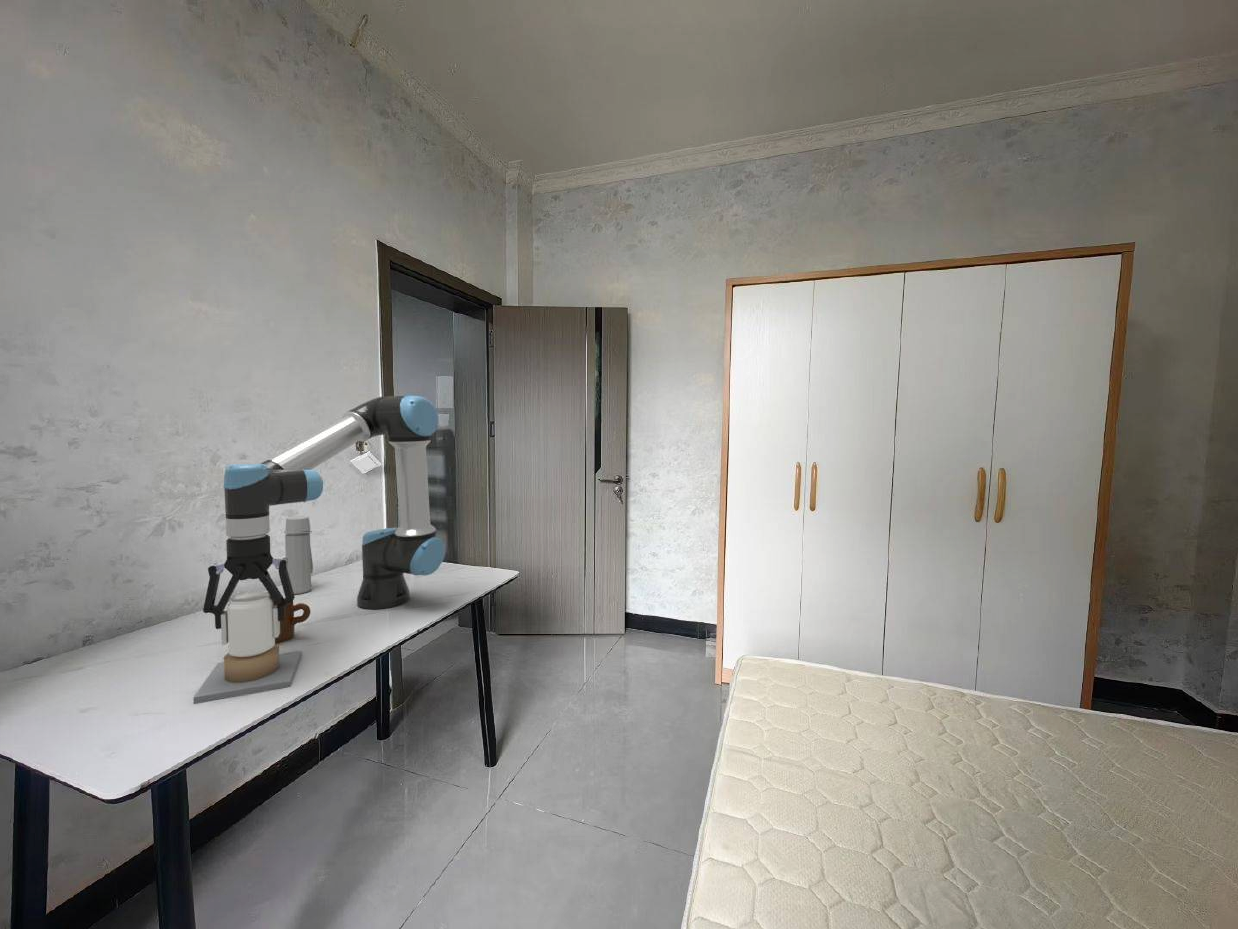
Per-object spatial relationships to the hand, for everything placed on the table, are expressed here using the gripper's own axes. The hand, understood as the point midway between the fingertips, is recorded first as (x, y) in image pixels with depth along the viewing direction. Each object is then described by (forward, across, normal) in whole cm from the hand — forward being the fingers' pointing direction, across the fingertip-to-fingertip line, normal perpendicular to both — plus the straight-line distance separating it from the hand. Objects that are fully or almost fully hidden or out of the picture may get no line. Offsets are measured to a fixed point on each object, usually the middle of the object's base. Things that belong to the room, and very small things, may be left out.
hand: (251, 638), depth 107 cm
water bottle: (+9, -1, -64) cm, 65 cm away
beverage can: (+3, 0, 0) cm, 3 cm away
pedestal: (+9, 0, 0) cm, 9 cm away
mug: (+9, -3, -21) cm, 23 cm away
